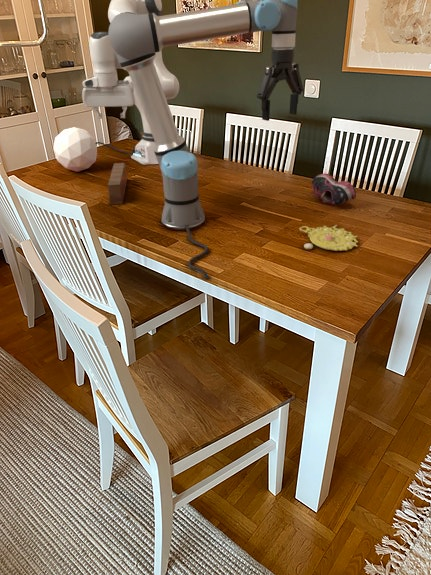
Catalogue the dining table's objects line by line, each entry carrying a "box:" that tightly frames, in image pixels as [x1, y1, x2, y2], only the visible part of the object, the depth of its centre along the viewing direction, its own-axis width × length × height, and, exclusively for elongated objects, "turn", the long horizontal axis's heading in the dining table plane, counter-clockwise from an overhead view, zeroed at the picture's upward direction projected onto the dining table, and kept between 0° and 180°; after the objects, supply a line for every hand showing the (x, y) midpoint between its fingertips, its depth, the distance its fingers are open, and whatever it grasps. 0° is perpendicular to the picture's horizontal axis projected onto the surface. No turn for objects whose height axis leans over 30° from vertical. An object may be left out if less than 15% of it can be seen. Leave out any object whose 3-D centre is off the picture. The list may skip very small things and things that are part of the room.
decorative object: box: [299, 224, 359, 252], centre depth 141 cm, size 21×2×20 cm
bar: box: [107, 162, 128, 206], centre depth 182 cm, size 28×5×8 cm, turn 6°
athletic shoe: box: [309, 173, 357, 206], centre depth 167 cm, size 11×22×12 cm
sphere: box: [52, 126, 98, 173], centre depth 205 cm, size 19×20×20 cm
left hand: (111, 118), depth 178 cm, fingers open, 8 cm apart
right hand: (279, 117), depth 155 cm, fingers open, 13 cm apart
